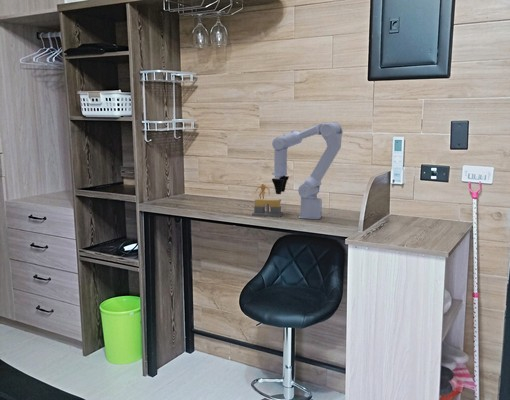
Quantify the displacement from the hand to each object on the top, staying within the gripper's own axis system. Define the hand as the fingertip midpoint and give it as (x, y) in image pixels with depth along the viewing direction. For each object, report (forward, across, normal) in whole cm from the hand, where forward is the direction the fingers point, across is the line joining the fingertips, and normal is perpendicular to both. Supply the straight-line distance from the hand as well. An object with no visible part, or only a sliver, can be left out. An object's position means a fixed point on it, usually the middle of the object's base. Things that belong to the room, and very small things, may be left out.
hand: (280, 192), depth 239 cm
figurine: (+10, -12, -12) cm, 20 cm away
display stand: (+10, +4, -5) cm, 12 cm away
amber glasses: (+6, +3, -5) cm, 8 cm away
